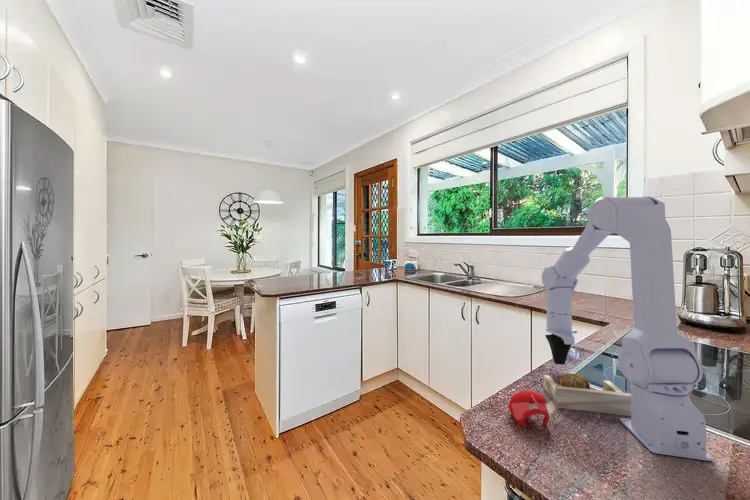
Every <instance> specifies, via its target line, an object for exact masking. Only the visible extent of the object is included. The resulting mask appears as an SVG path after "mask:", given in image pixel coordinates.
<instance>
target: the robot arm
mask: <svg viewBox="0 0 750 500" xmlns="http://www.w3.org/2000/svg"><path fill="white" fill-rule="evenodd" d="M587 221H588V223H587V224H586V226H585V228H584V230H583V232H581V234H580V236H579V237H578V239H577V241H576V242H575V244H574V246H573V247H567V248H565V249H564V250H563V252H562V254H561V255H560V256H559V258H557V260H556V262H555V263H554V264H553V265H550V266H547V267H544V269H543V270H542V273H541V282H542V286H543V287H544V288H545V290H546V327H545V331H546V332H548V333H549V334H545V338H546V340H547V342H548V344H549V347H550V351H551V356H552V360H553V363H554V364H555V365H565V364H566V360H567V357H568V354H569V351H570V349H571V348H572V346H574V345H575V343H576V342H575V336H574V334H578V330H577V329H575V328H573V301H572V299H573V298H572V297H573V296H574V295H575V289H576V287H577V285H578V278H577V277H578V276H579V275H580V274H581V273H582V271H584V269H585V268H586V267H587V266H588V265H589V263H590V262H591V259H590V256H589V255H590V254H591V253H592V252H593V251H595V249H596V248H597V247H598V246H599V245H600V244H601V243H602V242H603V241H604V240H605V239H606V238H608V236H610V235H612V234H617V235H618V236H619V237H621V238H622V239H624V240H625V241H627V242H628V243H629V253H630V254H629V255H630V270H631V271H630V272H631V273H630V275H631V291H632V292H631V293H632V311H633V314H632V315H633V328H632V329H630V331H628V332H627V333H626V334H625V335H624V336H623V337H622V338H621V349H620V351H619V353H618V357H617V359H618V360H617V361H618V366H619V369H620V371H621V372H622V374H623V375H624V377H625V378H626V380H627V381H628V382H630V393H631V416H630V418H625V417H620V418H619V421H620V422H621V423H622V424H623V425H624V426H625V427H626V428H627V429H628V430H629V431H630V432H631V433H632V434H633V435H634V436H635V438H637V439H638V441H640V442H641V443H642V444H643V445H644V446H645V447H646V448H647V449H648V451H650V452H651V453H653V454H657V455H658V454H659V455H664V456H665V455H666V456H671V457H672V456H673V457H680V458H685V459H686V458H687V459H694V460H701V461H707V462H713V461H714V458H713V456H712V455H710V454H708V453H707V429H706V428H707V424H706V419H705V416H704V414H703V413H702V411H701V410H700V409H698V408H697V407H696V406H695V405H694V403H693V402H692V400H691V399H690V394H689V392H693V386H694V385H697V384H698V383H700V382H701V380H702V379H703V376H704V375H703V374H704V370H703V365H702V364H701V362H700V359H699V358H698V356H697V354H696V344H695V343H694V342H693V341H691V340H689V339H688V338H686V337H685V336H683V335H681V333H679V332H678V325H677V309H676V308H677V307H676V290H675V276H674V261H673V260H674V258H673V240H672V230H671V227H670V224H669V222H668V220H667V219H666V205H665V202H663V201H660V200H658V199H656V198H655V197H652V196H646V195H645V196H612V197H611V196H601V197H599V198H597V199H596V200H595V201H594V202H593V203H592V205H591V207H590V209H588V211H587Z"/></svg>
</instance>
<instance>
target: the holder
mask: <svg viewBox="0 0 750 500" xmlns="http://www.w3.org/2000/svg"><path fill="white" fill-rule="evenodd" d="M556 383H557V382H555V381H554V379H553V378H552V377H551V376H550V374H549V375H548V374H543V389H544V390H545V392H546V393H547V395H549V397H550V399H551V401H552V402H553V403H554V404H555V406H556V408H558V409H567V410H575V411H584V412H593V413H600V414H601V413H602V414H607V415H618V416H626V417H631V392H630V393H629V392H623V391H622V390H621V389H620V388H619V387H617V385H615V384H614V383H612V381H610V380H602V390H601V389H592V388H590V389H583V388H573V387H563V386H557V384H556Z"/></svg>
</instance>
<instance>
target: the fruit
mask: <svg viewBox="0 0 750 500" xmlns="http://www.w3.org/2000/svg"><path fill="white" fill-rule="evenodd" d="M555 383H556V384H557V386H563V387H573V388H583V389H591V387H590V385H591V384H590V382H589V381H588V380H587V379H586V378H585V377H583V376H582V375H579V374H576V373H570V372H569V373H568V372H566V373H563V375H561V377H560V378H559V383H557V382H555Z"/></svg>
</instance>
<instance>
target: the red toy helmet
mask: <svg viewBox="0 0 750 500" xmlns="http://www.w3.org/2000/svg"><path fill="white" fill-rule="evenodd" d="M547 402H548V401H547V400H546V398H545V397H544V396H543V395H542V394H540V393H539V392H536V391H533V390H521V391H517V392H516V393H514V394H513V395H512V396H511V397H510V400H509V402H508V409H509V411H510V414H511V416H512V417H513V418H514V420H515V421H516V422H517V424H518V425H520V426H521V427H523V428H526V426H527V423H526V419H527V418H528V417H529V418H530V417H531V416H534V415H542V416H544V417H543V420H542V424H543V426H544V427H546V426H547V425H548V423H549V420H550V414H549V411H548V408H547V405H546V404H547ZM531 404H533V405H536V408H532V409H530V405H531Z"/></svg>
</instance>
